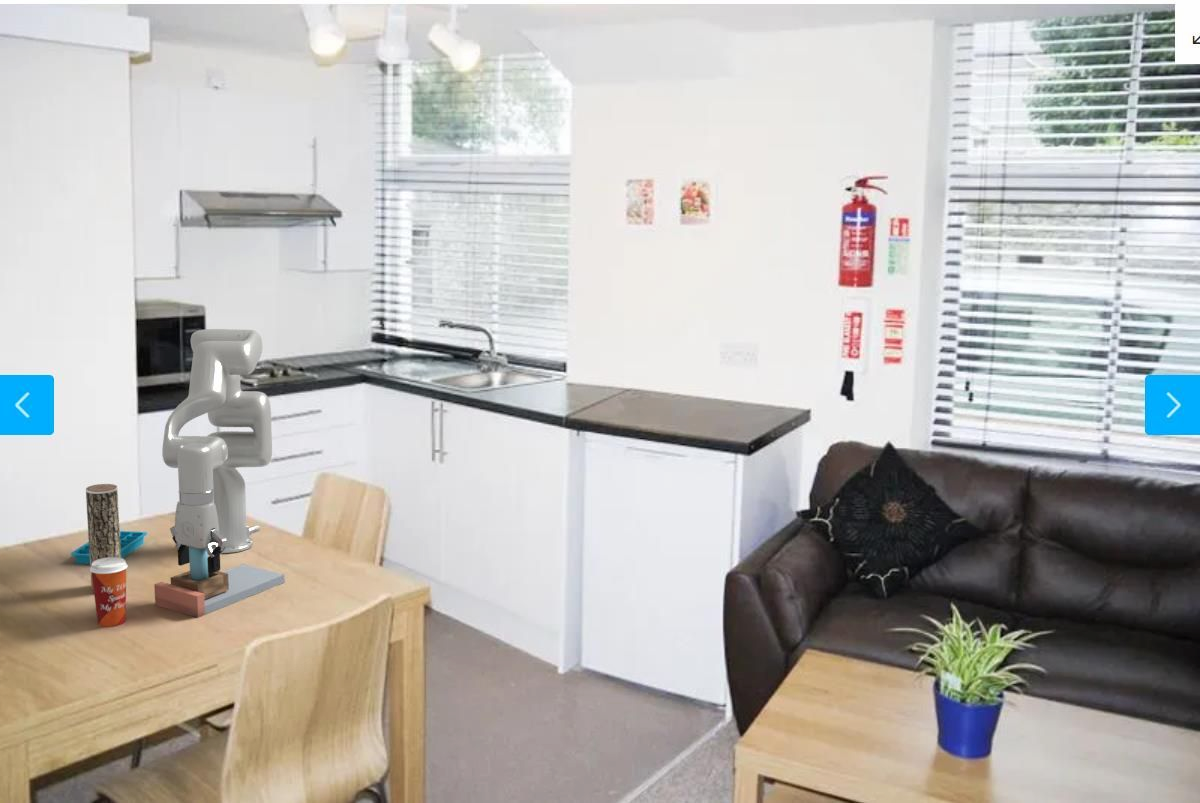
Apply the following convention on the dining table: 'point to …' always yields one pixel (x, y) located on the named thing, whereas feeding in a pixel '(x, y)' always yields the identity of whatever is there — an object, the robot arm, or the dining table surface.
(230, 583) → the long flat grey board
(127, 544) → the ice cube tray
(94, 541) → the bark log
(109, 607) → the paper cup
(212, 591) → the square wooden tray
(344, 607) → the dining table surface
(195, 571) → the dowel
